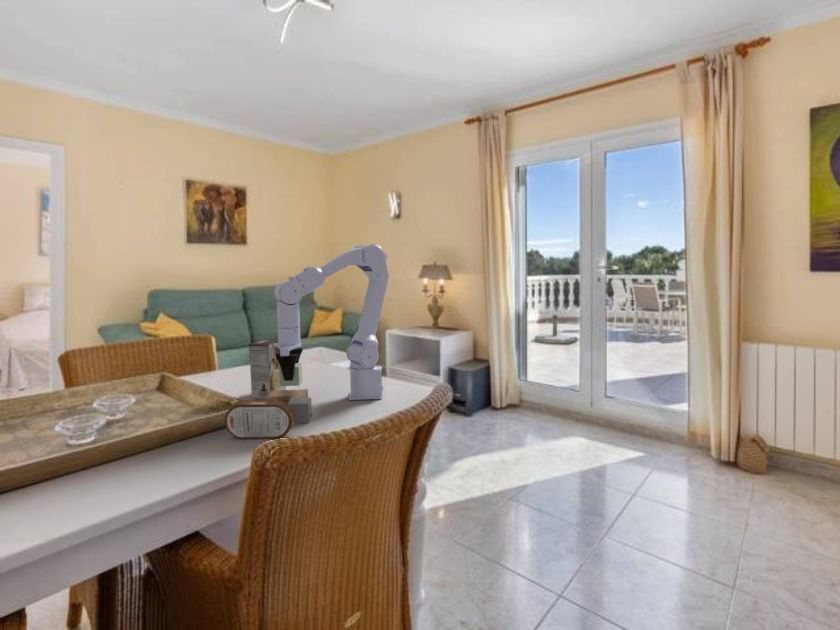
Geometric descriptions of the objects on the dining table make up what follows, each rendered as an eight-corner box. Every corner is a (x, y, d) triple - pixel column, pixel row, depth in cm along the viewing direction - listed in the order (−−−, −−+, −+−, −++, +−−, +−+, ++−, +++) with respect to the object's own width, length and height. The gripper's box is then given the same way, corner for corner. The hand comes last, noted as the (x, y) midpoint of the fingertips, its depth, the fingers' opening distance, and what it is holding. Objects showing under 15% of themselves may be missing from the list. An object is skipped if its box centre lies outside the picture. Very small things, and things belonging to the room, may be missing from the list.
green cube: (302, 380, 125) (301, 363, 125) (299, 385, 120) (298, 367, 120) (283, 381, 125) (282, 363, 124) (279, 386, 120) (279, 367, 119)
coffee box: (267, 389, 142) (265, 338, 140) (286, 390, 141) (284, 339, 139) (250, 398, 133) (248, 343, 131) (271, 399, 132) (268, 344, 130)
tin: (295, 434, 105) (294, 398, 104) (292, 439, 102) (291, 402, 101) (229, 435, 104) (227, 399, 103) (223, 440, 101) (221, 403, 100)
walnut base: (308, 403, 130) (307, 389, 129) (304, 414, 120) (304, 399, 119) (271, 404, 128) (271, 390, 128) (264, 416, 118) (264, 401, 118)
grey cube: (311, 416, 117) (311, 397, 117) (309, 423, 112) (308, 403, 112) (291, 417, 117) (291, 398, 116) (288, 424, 112) (287, 404, 111)
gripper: (278, 323, 128) (280, 371, 129) (267, 331, 113) (269, 385, 115) (304, 323, 128) (306, 371, 130) (296, 330, 114) (297, 384, 116)
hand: (290, 377), depth 122 cm, fingers closed on green cube, 5 cm apart
